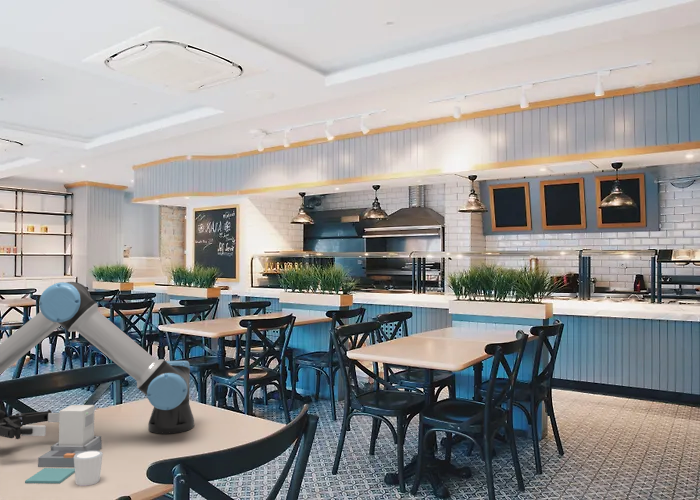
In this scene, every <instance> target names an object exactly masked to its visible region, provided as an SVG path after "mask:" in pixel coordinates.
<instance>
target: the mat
mask: <svg viewBox="0 0 700 500" xmlns="http://www.w3.org/2000/svg"><path fill="white" fill-rule="evenodd" d="M73 474H75V467H43V468H42V469H41V470H39V471H38V472H36V473H35V474H33V475H32V476H30V477H29V478H27V479H26V480H24V484H61V483H63V482H64V481H65V480H66V479H68V478H69V477H70V476H72V475H73Z"/></svg>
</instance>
